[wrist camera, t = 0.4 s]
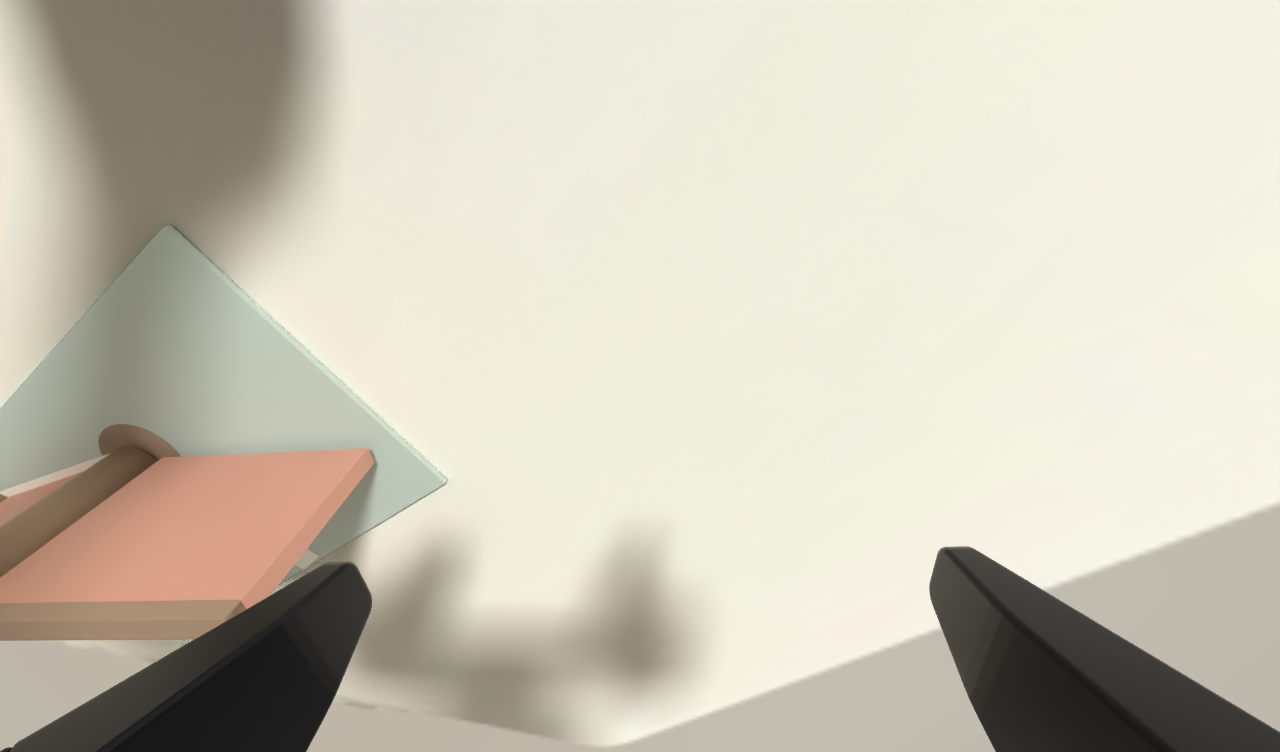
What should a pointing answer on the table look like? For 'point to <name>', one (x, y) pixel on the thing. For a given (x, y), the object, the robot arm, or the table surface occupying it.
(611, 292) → the table surface
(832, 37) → the table surface
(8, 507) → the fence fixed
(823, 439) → the table surface
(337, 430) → the mat
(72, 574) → the swing panel
